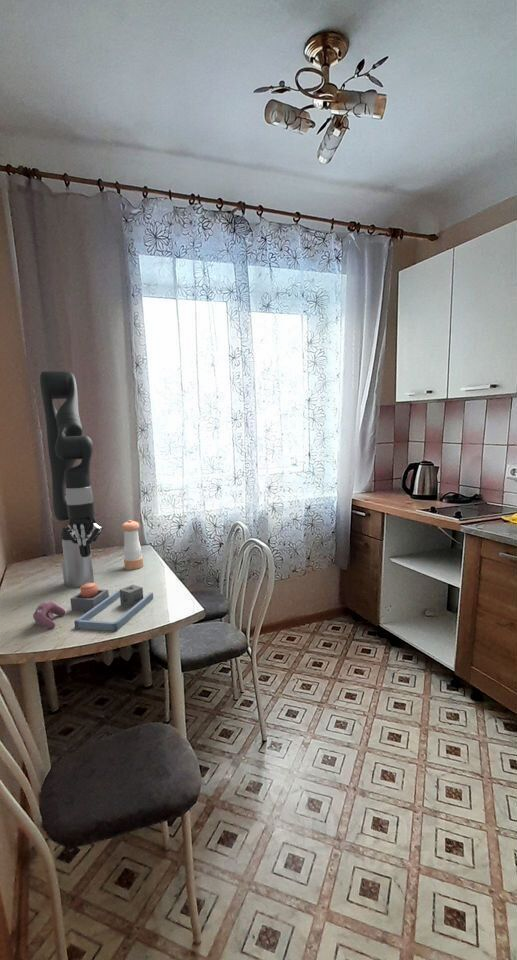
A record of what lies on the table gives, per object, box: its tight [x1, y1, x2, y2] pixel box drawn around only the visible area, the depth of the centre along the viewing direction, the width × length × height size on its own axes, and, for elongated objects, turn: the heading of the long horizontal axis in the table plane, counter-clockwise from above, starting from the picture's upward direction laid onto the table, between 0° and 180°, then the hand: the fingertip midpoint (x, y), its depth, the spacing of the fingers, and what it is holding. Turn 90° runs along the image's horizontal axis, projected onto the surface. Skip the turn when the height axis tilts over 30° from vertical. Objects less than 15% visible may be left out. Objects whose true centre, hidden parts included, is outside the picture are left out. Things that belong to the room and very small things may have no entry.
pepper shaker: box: [120, 519, 144, 571], centre depth 171 cm, size 7×7×19 cm
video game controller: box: [32, 600, 66, 629], centre depth 125 cm, size 10×5×7 cm, turn 5°
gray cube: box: [118, 584, 144, 609], centre depth 136 cm, size 5×5×5 cm
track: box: [74, 590, 154, 632], centre depth 130 cm, size 13×22×2 cm, turn 167°
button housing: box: [70, 588, 110, 613], centre depth 135 cm, size 8×8×4 cm
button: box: [79, 582, 99, 598], centre depth 135 cm, size 5×5×3 cm
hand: (85, 556), depth 134 cm, fingers closed
